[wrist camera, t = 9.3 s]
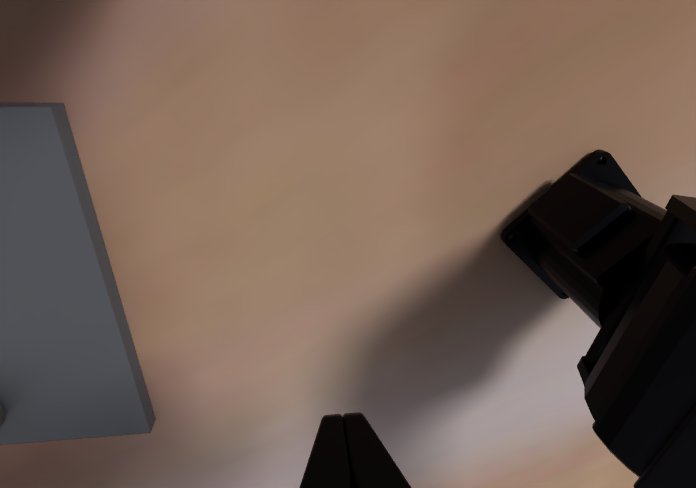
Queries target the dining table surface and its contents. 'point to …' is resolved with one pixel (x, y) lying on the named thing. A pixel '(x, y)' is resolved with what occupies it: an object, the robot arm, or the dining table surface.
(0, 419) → the lever
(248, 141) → the dining table surface
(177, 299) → the dining table surface
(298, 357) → the dining table surface
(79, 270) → the dial plate
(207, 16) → the dining table surface
